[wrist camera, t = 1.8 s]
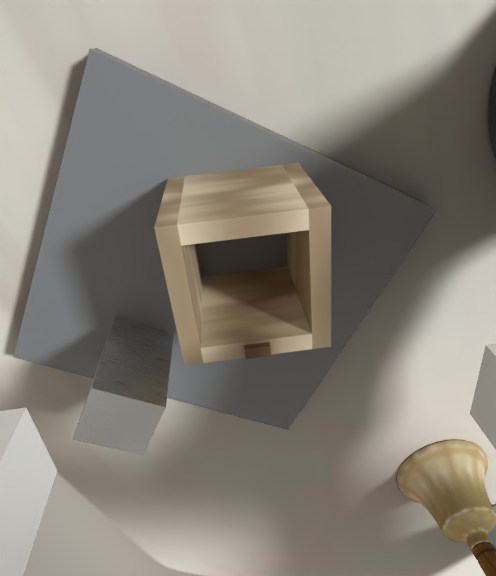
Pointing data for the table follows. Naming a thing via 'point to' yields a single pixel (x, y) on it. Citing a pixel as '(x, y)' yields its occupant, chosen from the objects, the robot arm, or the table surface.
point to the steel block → (127, 388)
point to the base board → (212, 255)
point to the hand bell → (454, 494)
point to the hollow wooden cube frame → (255, 283)
